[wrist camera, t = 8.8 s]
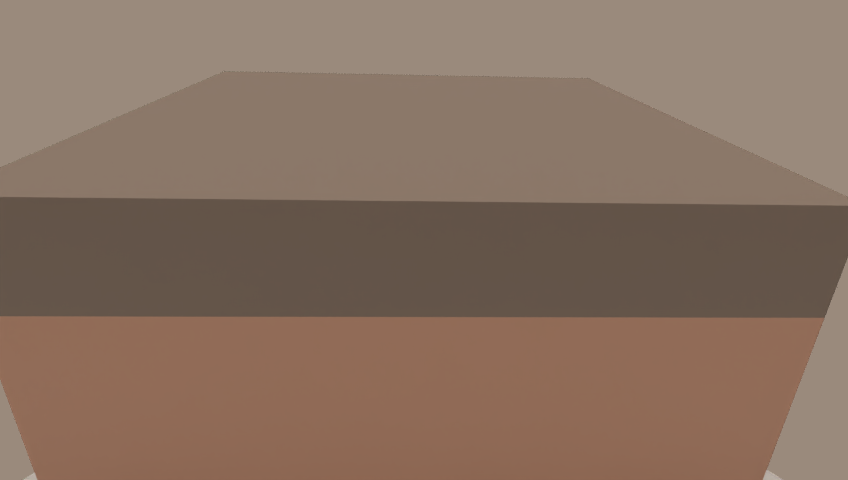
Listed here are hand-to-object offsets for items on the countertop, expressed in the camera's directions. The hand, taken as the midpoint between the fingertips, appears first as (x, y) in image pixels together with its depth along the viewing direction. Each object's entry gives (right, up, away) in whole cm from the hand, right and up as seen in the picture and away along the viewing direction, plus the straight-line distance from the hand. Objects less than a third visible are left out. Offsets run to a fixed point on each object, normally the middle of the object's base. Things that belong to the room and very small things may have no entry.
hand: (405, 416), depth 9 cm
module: (0, -6, +2) cm, 6 cm away
